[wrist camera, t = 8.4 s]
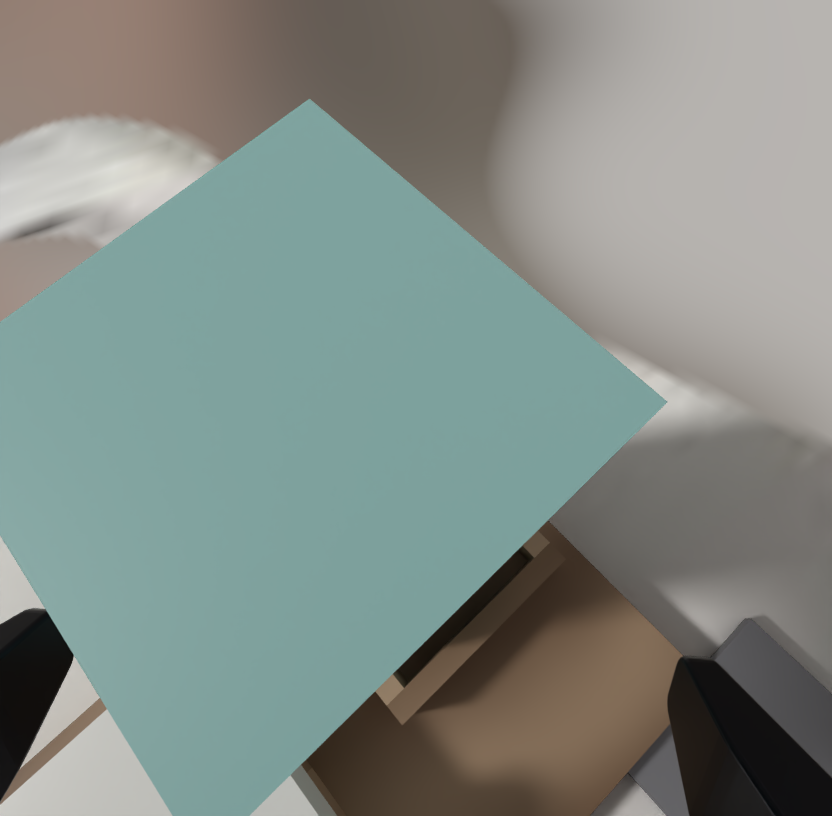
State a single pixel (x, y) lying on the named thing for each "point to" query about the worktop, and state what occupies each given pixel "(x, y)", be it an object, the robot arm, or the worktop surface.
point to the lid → (128, 783)
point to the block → (284, 451)
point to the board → (498, 702)
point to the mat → (772, 689)
